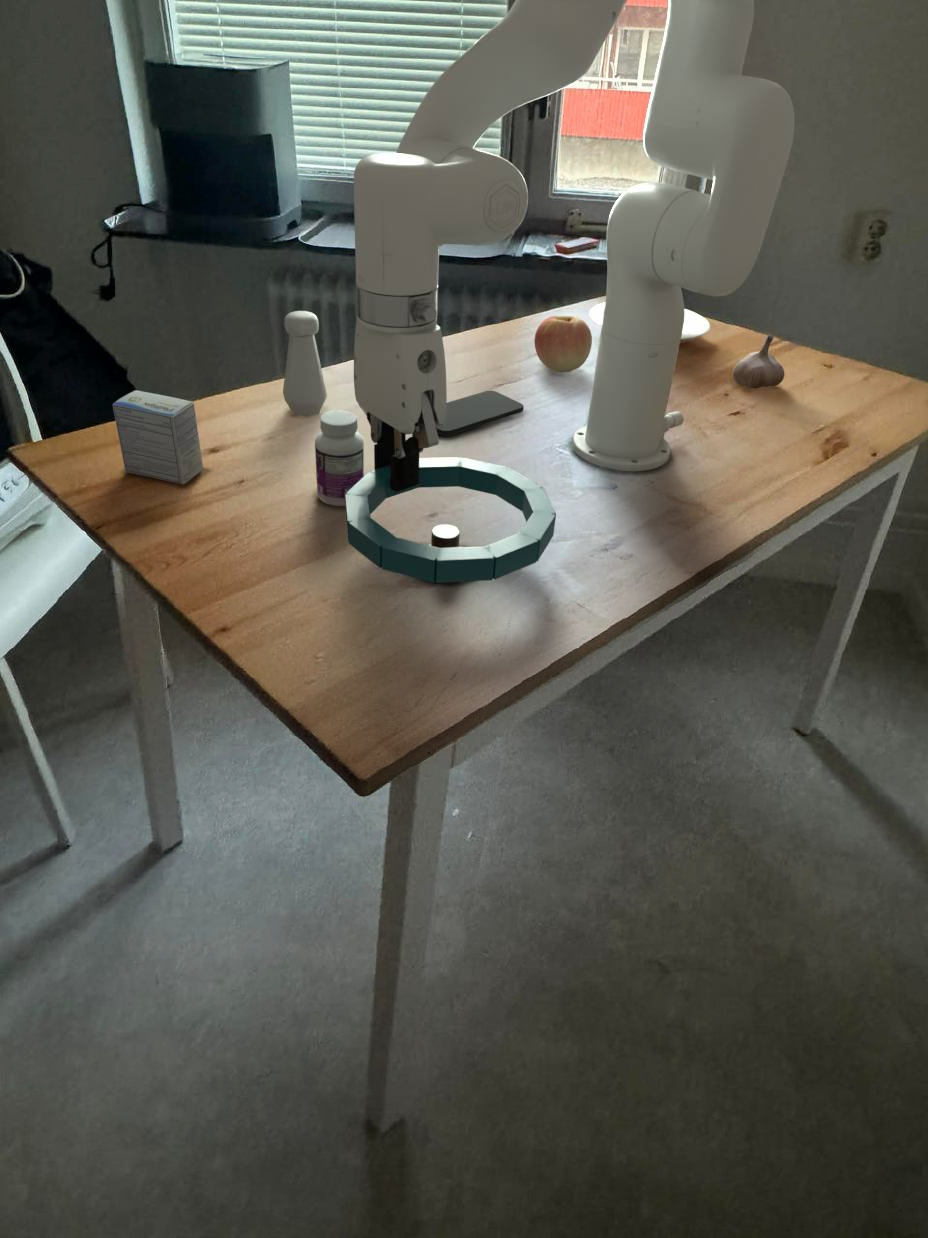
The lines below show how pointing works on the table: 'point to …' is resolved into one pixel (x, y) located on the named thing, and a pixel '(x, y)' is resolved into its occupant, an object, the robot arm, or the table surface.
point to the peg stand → (445, 538)
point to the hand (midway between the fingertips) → (396, 480)
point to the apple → (563, 343)
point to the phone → (477, 411)
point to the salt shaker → (303, 366)
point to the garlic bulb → (759, 369)
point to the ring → (455, 560)
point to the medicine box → (158, 436)
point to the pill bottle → (338, 456)
